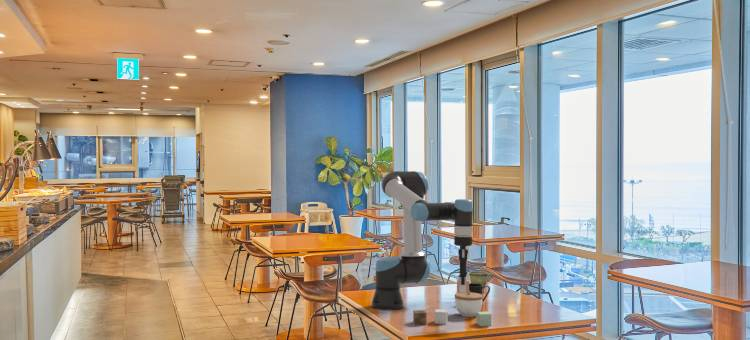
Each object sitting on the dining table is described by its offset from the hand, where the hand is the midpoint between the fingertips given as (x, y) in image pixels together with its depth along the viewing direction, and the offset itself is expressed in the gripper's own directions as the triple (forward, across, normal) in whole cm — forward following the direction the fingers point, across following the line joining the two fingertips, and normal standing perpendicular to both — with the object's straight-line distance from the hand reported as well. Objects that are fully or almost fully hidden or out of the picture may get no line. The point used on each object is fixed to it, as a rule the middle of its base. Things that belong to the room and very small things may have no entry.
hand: (462, 290), depth 269 cm
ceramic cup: (+15, +80, -11) cm, 82 cm away
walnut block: (+15, +1, +18) cm, 23 cm away
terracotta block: (0, 0, 0) cm, 0 cm away
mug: (+15, +44, -8) cm, 47 cm away
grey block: (+15, +4, +9) cm, 18 cm away
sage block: (+15, +3, -9) cm, 17 cm away
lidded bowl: (+15, +20, -3) cm, 25 cm away
